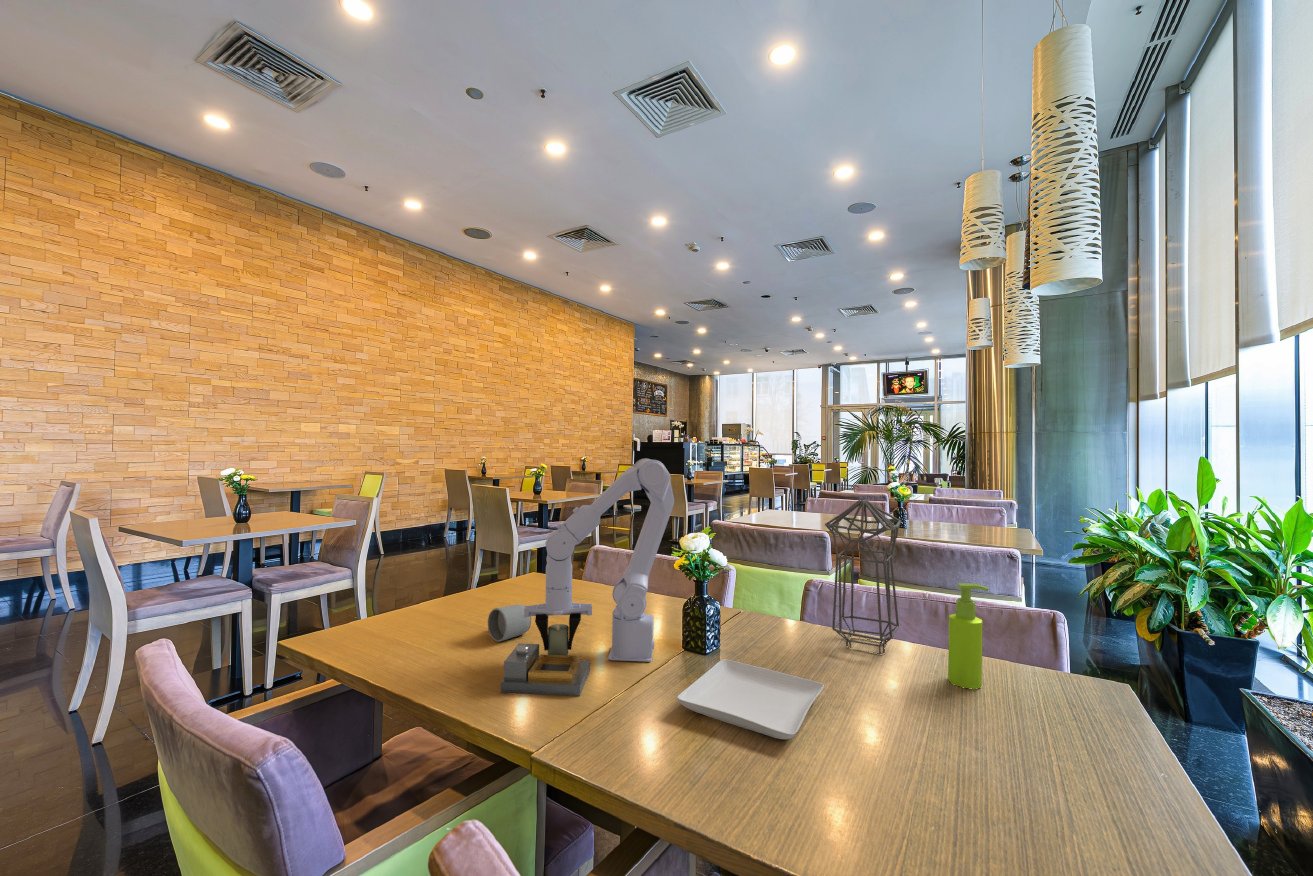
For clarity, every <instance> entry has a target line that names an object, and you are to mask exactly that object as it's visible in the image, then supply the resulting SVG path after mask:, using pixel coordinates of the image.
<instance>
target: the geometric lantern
mask: <svg viewBox="0 0 1313 876" xmlns="http://www.w3.org/2000/svg"><path fill="white" fill-rule="evenodd" d="M855 509H856V511H855V513H854V515H853V517H847V516H848V515H850V514H851V513H852V512H853V511H854V510H855ZM860 510H861V515H860V516H861V517H860V518H859V519H858V518H857V516H858V514H859V512H860ZM867 510H869V512H870V513H871V515H872V517H873V518H874V520H868V514H867ZM886 516H887V517H886ZM888 517H889V518H891V519H889V518H888ZM842 520H843V521H844V520H845V521H846V522H847V523H849V526H848V527H847V526H843V525H840V522H841V521H842ZM855 522H859V523H860V525H857V524H856V523H855ZM895 522H896V524H894V523H895ZM902 522H903V521H902V520H901V519H899V518H897V517H895V516H893V514H890V513H889V512H887V511H885V510H884V509H882V508H880V507H879V506H877V505H876V504H873V503H872V502H870V501H869V500H866V499H858V500H857V501H856V502H854V503H853V504H852V505H850V507H848V508H847V509H846V510H844V511H842V512H841V513H839V514H837V515H836V516H835V517H833V518H832V519H830V520H829V521H828V522H827V521H826V523H824V526H825V527H826V529H827V530H828V531H829V532H830V533H831V534H832V536H833V538H832V539H833V544H834V549H835V555H836V556H835V569H834V570H835V571H834V573H835V574H834V587H833V588H834V592H833V606H832V607H833V608H832V609H833V611H832V625H831V626H832V627H831V629H832V631H834V632H836V633H837V634H838V635H839V636H840V637H842V638H843V639H844V640H845V644H846V645H845V647H846V646H848V647H850V648H852V643H856V644H862V645H868V646H874V647H878V652H874V651H872V652H873V653H877V654H882V653H885V654H886V652H885V649H884V648H885V644H886V645H887V646H888V643H889V641H891V640H893V638H894V636H895V635H896V633H897V631H898V629H899V628H900V623H899V614H898V602H897V595H896V594H897V592H896V584H895V583H896V582H895V573H894V572H895V571H894V562H893V554H894V551H895V550H894V549H895V545H896V541H897V538H898V536H899V529H900V525H901V523H902ZM864 523H865V526H864ZM868 524H877V525H876V528H868ZM880 525H881V528H880V527H879V526H880ZM853 526H854V527H856V528H852V527H853ZM864 527H865V528H864ZM839 529H841V530H842V529H843V530H846V531H847V535H848V537H847V536H846V535H845V534H843V533H842V532H841V531H839ZM850 531H857V532H859V533H860V535H859V537H858V539H851V533H850ZM886 531H890V539H889V540H890V542H889V544H888V547H887V548H886V546H885V544H884V543H883V541H882V539H881V537H880V536H879V535H881V534H882V533H885V532H886ZM865 533H866V534H871V535H869V536H866V537H865V538H864V534H865ZM836 536H839V538H840V540H841V542H842V545H843V546H844V549H843V550H842V551H841V552H838V545H837V538H836ZM874 537H877V538H878V540H879V542H880V543H881V546H882V547H883V548H884V550H885V551H880V550H879V551H877V550H872V549H871V548H870V545H868V543H867V541H868V540H870V539H872V538H874ZM843 539H845V540H846V541H848V543H847V545H846V544H845V541H844V540H843ZM852 543H855V544H854V545H853V547H852V548H850V549H848V547H849V546H850V544H852ZM859 543H863V544H864V545H865V547H866V548H867V550H865V549H856V548H857V546H858V544H859ZM890 548H891V551H890V553H889V550H890ZM849 552H850V553H851V557H848V556H847V555H848V553H849ZM855 552H860V553H862V552H863V553H870V554H871V555H872V557H873V559H874V560H873V559H861V558H854V557H855ZM874 553H876V554H885V555H884V557H883V559H882V560H879V559H878V558H877V556H876V555H875V554H874ZM843 555H844V557H842V556H843ZM842 560H843V562H844V563H843V579H842ZM848 560H849V561H851V571H850V572H851V574H850V575H851V577H850V579H851V581H850V586H851V587H850V589H851V590H850V615H845V606H846V605H845V604H846V602H845V601H846V581H847V561H848ZM855 561H860V562H868V563H875V577H876V578H875V579H876V594H877V595H876V596H877V597H876V598H877V609H878V610H877V611H878V612H877V613H878V619H877V618H871V617H865V616H864V617H863V616H856V615H854V583H855V582H854V580H855V579H854V578H855V577H854V574H855V573H854V572H855V571H854V570H855V568H854V567H855ZM879 564H883V566H882V567H883V575H884V586H885V599H886V611H887V619H888V620H884V619H882V611H881V610H882V609H881V606H882V605H881V596H880V595H881V594H880V593H881V592H880V591H881V589H880V577H879V576H880V575H879ZM890 572H891V573H890ZM890 574H891V575H890ZM890 576H891V577H890ZM890 578H891V579H890ZM842 580H843V581H842ZM890 582H891V583H892V593H893V603H894V612H895V613H894V614H895V622H893V621H892V618H891V616H892V614H891V611H892V610H891V609H892V607H891V583H890ZM842 583H843V585H842ZM837 589H838V590H837ZM837 593H838V621H837V622H836V612H837V611H836V608H837ZM846 619H850V620H851V626H852V627H850V626H849V623H848V622H847V621H846ZM854 619H857V620H864V621H870V622H876V623H877V622H878V625H879V626H878V628H879V631H878V632H877V631H876V632H875V631H867V630H858V629H855V625H854ZM842 621H844V623H845V625H846V627H847V629H848V630H849V631H843V626H842V625H843V623H842ZM882 623H885V624H887V625H886V626H885V628H884V629H883V627H882V626H883V625H882ZM838 626H839V627H838ZM892 626H894V628H892ZM837 627H838V628H839V629H837ZM851 628H852V629H851ZM887 629H888V630H889V631H888V632H887ZM856 632H858V633H856ZM886 632H887V633H886ZM859 633H864V634H859ZM866 633H867V634H874V635H879V637H874V636H871V635H870V636H869V635H865V634H866ZM885 633H886V634H885ZM853 636H855V637H859V638H865V639H867V640H876V641H881V642H880V643H879V644H876V643H870V642H864V641H858V640H853V639H851V640H849V639H850V637H853ZM867 640H866V641H867ZM848 642H849V645H848ZM882 642H883V643H882ZM881 649H882V650H881ZM867 651H868V652H869V650H867ZM877 654H876V655H877Z"/></svg>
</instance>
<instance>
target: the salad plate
mask: <svg viewBox="0 0 1313 876" xmlns="http://www.w3.org/2000/svg"><path fill="white" fill-rule="evenodd" d="M824 689H825V685H824V683H822V682H819V681H815V680H812V679H807V678H804V677H801V676H797V675H792V674H788V673H784V672H780V671H777V670H773V669H768V668H765V667H761V666H757V665H756V666H755V665H753V664H748V663H745V662H739V661H735V660H731V659H725V658H724V659H721V660H719V661H718V662H717V663H715V664H714V665H713V666H712V667H711V668H710V669H708V670H707V671H706V672H705V673H703V674H702V675H701V676H700V677H698V679H696V680H694V682H692V683H691V684H690V685H689V686H687V687H686V688H685V689H684V690H682V692H680V693H679V694H678V695H677V696H676V700H677V702H679V703H680V704H681V706H683V707H685V708H687V710H690V711H693V712H695V713H698V714H702V715H704V716H706V717H709V718H710V719H711V718H712V719H714V720H717V721H721V722H724V723H727V724H729V725H732V726H735V727H740V728H742V729H744V730H745V729H746V730H748V731H752V732H755V733H758V734H761V735H766V736H768V737H771V738H775V739H779V740H791V739H792V738H795V736H796V735H797V733H798V731H799V730H800V728H801V726H802V725H803V722H804V721H805V720H804V719H805V718H806V716H807V714H808V712H809V710H810V708H811V706H812V705H813V703H814V702H815V700H817V698H818V697H819V696H820V694H821V692H823V690H824Z"/></svg>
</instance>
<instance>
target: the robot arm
mask: <svg viewBox="0 0 1313 876" xmlns="http://www.w3.org/2000/svg"><path fill="white" fill-rule="evenodd" d="M671 476H672V475H671V474H670V472H669V471H668V469H667V468H666V466H665V464H664V463H662V461H660V460H657V459H650V458H647V457H646V458H641V459H639V460H637V461H636V462H635V464H634V465H632V466H630V467H628V468H627V469H626V470H625V471H623V473H621V474H620V475H619V476H618V477H616V479H615V480H614V481H613V482H612V483H611V484H610V485H609V486H608V487H607V488H606V489H605V490H604V491H603V492H602V493H601V494H600V495H599V496H598V497H597V498H596V499H595V500H594V501H593V502H592V503H591V504H587V505H585V504H583V505H581V506H580V507H577V506H575V508H574V509H572V512H573V513H572V514H571V515H570V516H569V517H568V518H567V519H566V520H565V521H564V522H563V523H558V524H557V525H556V529H554V530H553V531H551V532H549V534H548V536H547V538H546V541H545V548H546V552H547V556H546V565H545V603H539V604H530V605H524V606H525V608H524V617H529V616H531V617H535V618H534V619H535V620H534V622H535V626H536V627H537V629H538V631H539V633H540V637H541V640H542V643H543V650H544V651H545V652H548V627H549V616H569V617H568V627H569V637H568V651H570V650H572V647H573V646H572V644H573V641H574V637H575V634H576V632H577V630H578V628H579V625H580V623H581V621H582V616H587V617H588V616H593V604H592V603H578V602H573V564H572V555H573V554H574V551H575V547H576V546H577V545H580V544H581V543H582V541H584V539H586V538H587V537H588V536H589V535H590V534H591V533H592V532H593V531H594V530H596V528H598V526H600V524H601V516H602V515H603V514H605V512H606V511H608V510H609V509H610V508H611V507H612V506H613V505H614V504H616V503H617V502H618V501H620V499H621V498H623V497H624V496H625V495H626V494H627V493H630V492H635V491H642V489H643V490H644V492H645V494H646V497H647V498H648V499H649V501H650V504H649V508H648V510H647V513H646V516H645V519H644V521H643V524H642V527H641V530H640V531H639V532H640V533H639V535H638V538H637V540H636V544H635V546H634V549H633V552H632V555H631V558H630V561H629V564H628V566H627V568H626V569H625V571H624V572H623V574H622V575H621V576H622V577H620V578H621V579H620V580H619V581H618V582H617V583H616V584H615V586H614V587H613V589H612V598H613V599H612V600H613V601H614V603H615V608H614V609H613V611H612V621H611V622H612V623H611V624H612V628H611V629H612V631H611V633H612V634H611V648H610V651H609V654H608V656H607V660H608V661H619V662H620V661H622V662H624V661H625V662H626V661H627V662H648V663H650V662H652V660H653V652H654V650H655V640H654V623H655V621H654V615H652V614H647V613H645V612H646V611H645V610H646V608H647V597H646V595H647V592H648V589H649V576H650V573H651V570H652V567H653V565H654V562H655V559H656V556H657V553H658V550H659V548H660V544H661V542H662V538H663V536H664V533H665V531H666V528H667V525H668V522H669V520H670V516H671V513H672V511H673V508H674V505H675V498H674V497H675V496H674V492H673V487H672V483H671V478H672V477H671Z"/></svg>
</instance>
